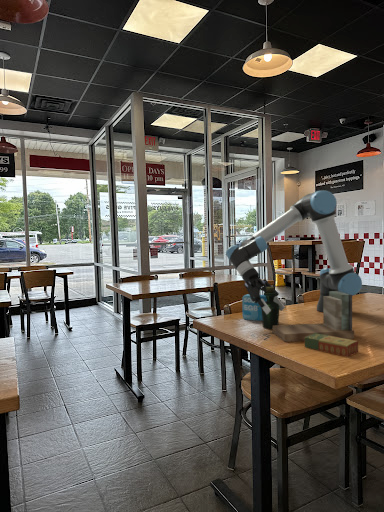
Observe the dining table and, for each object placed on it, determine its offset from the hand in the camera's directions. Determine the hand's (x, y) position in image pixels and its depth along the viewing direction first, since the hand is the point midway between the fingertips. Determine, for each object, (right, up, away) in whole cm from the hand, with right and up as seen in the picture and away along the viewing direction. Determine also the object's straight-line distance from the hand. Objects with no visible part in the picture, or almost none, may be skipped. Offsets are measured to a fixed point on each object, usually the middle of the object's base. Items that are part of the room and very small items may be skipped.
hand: (276, 310), depth 157 cm
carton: (+12, -9, -30) cm, 34 cm away
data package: (-6, -7, +19) cm, 22 cm away
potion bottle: (-2, -8, +3) cm, 9 cm away
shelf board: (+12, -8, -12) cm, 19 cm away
